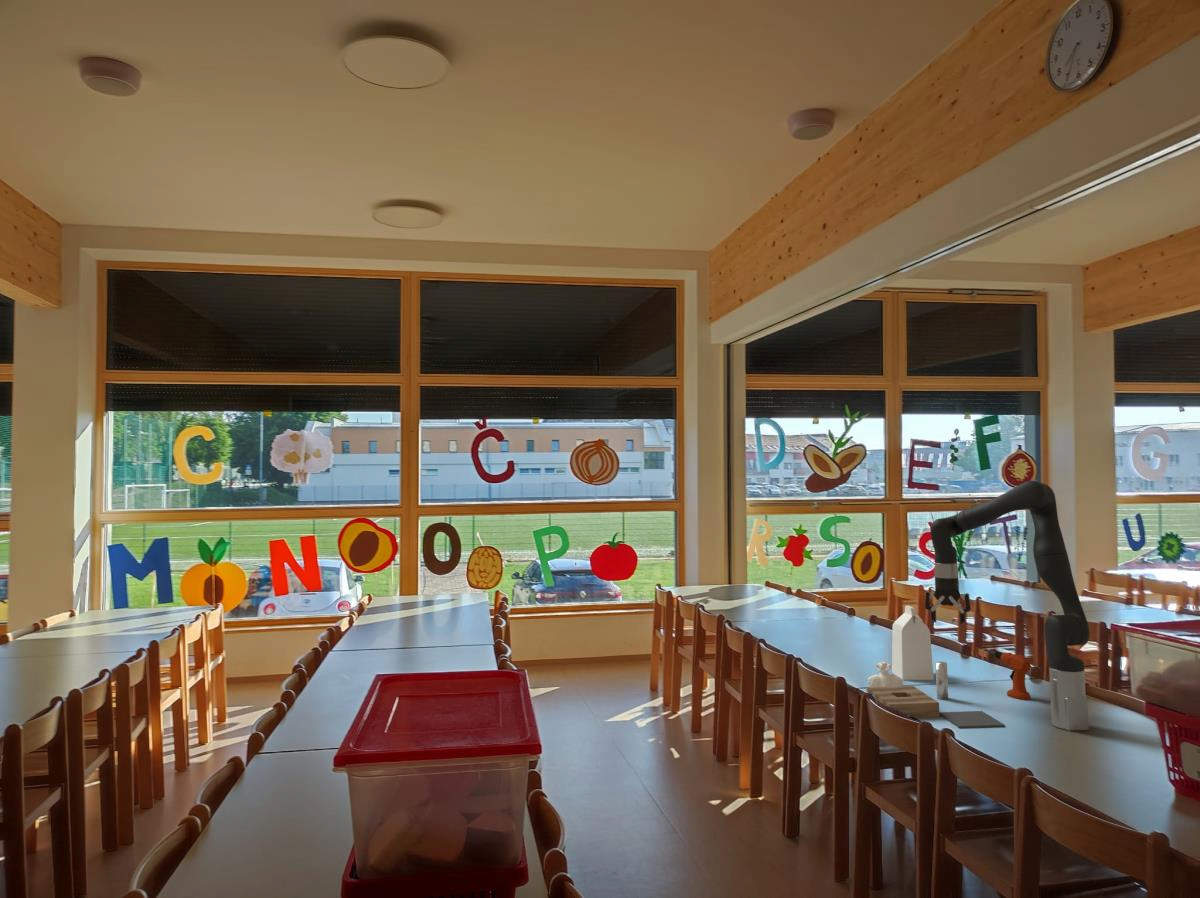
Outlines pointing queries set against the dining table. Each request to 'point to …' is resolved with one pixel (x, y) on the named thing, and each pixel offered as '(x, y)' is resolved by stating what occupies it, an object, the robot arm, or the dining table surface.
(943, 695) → the silver metal cylinder
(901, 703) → the block
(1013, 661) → the toy drill
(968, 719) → the rubber mat
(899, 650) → the milk
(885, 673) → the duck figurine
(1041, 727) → the dining table surface
